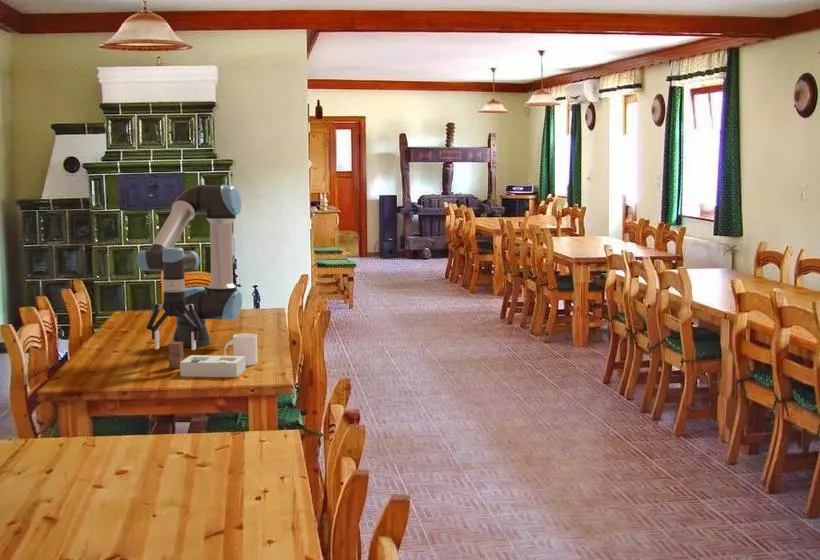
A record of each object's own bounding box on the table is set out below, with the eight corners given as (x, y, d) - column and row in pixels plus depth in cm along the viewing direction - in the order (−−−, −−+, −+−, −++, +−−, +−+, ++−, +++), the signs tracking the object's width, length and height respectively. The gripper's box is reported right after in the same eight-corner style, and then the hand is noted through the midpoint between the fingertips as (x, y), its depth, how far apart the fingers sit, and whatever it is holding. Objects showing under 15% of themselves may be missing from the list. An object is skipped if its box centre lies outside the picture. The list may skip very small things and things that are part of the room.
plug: (173, 366, 349) (172, 341, 348) (183, 366, 348) (182, 342, 347) (169, 368, 345) (168, 344, 344) (180, 368, 345) (179, 344, 343)
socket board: (191, 368, 344) (190, 354, 344) (245, 369, 343) (245, 355, 342) (180, 376, 332) (179, 361, 332) (236, 377, 331) (236, 362, 330)
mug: (223, 362, 354) (222, 334, 353) (256, 361, 357) (255, 332, 356) (225, 367, 346) (224, 338, 345) (258, 365, 349) (258, 336, 348)
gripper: (136, 291, 340) (138, 350, 343) (205, 292, 338) (206, 351, 341) (144, 289, 348) (145, 346, 350) (211, 289, 346) (212, 347, 348)
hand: (175, 349), depth 345 cm, fingers open, 13 cm apart
